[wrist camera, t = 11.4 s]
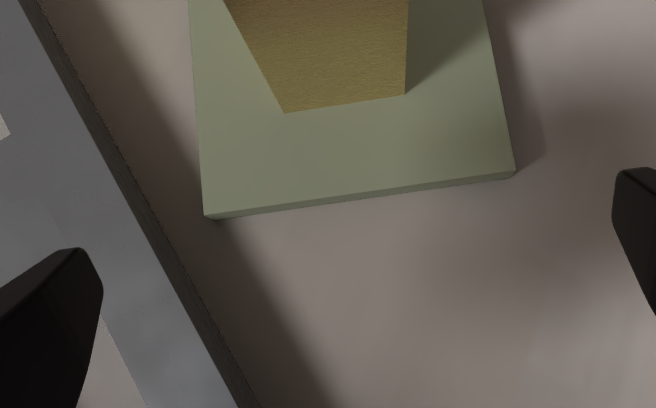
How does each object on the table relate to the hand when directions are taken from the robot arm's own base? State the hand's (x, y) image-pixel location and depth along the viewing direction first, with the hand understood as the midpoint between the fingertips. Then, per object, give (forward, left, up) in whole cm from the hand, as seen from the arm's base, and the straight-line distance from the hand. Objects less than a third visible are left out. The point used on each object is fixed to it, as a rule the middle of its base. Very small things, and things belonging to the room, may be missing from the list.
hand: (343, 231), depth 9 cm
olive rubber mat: (+7, -1, -9) cm, 12 cm away
